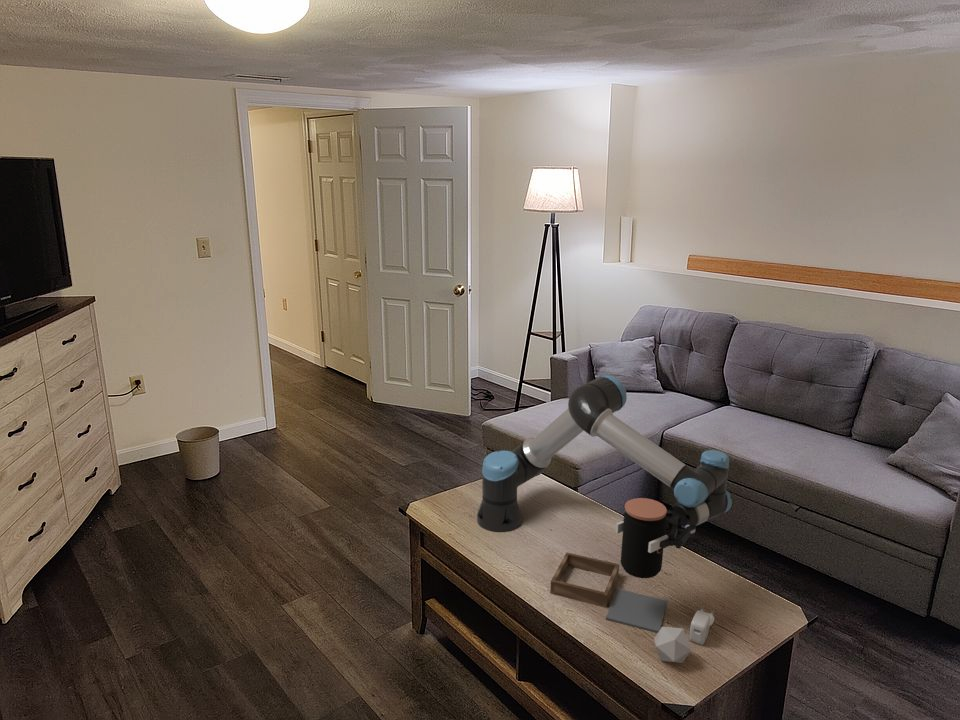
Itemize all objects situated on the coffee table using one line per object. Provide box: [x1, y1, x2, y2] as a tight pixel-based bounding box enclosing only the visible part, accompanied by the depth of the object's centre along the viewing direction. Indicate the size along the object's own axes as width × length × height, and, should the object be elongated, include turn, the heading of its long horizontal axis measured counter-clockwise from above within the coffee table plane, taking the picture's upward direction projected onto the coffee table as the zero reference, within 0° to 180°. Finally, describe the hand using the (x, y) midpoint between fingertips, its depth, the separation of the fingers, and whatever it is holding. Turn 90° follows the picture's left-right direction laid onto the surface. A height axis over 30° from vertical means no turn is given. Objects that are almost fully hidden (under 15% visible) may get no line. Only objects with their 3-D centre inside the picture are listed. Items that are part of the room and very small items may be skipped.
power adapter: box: [689, 606, 716, 646], centre depth 176 cm, size 11×5×6 cm, turn 148°
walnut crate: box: [549, 552, 620, 608], centre depth 195 cm, size 16×16×4 cm
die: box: [653, 626, 692, 664], centre depth 166 cm, size 8×9×10 cm
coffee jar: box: [620, 497, 668, 579], centre depth 178 cm, size 11×11×18 cm
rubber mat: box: [605, 588, 668, 634], centre depth 185 cm, size 14×14×1 cm
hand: (632, 537), depth 176 cm, fingers closed on coffee jar, 11 cm apart
